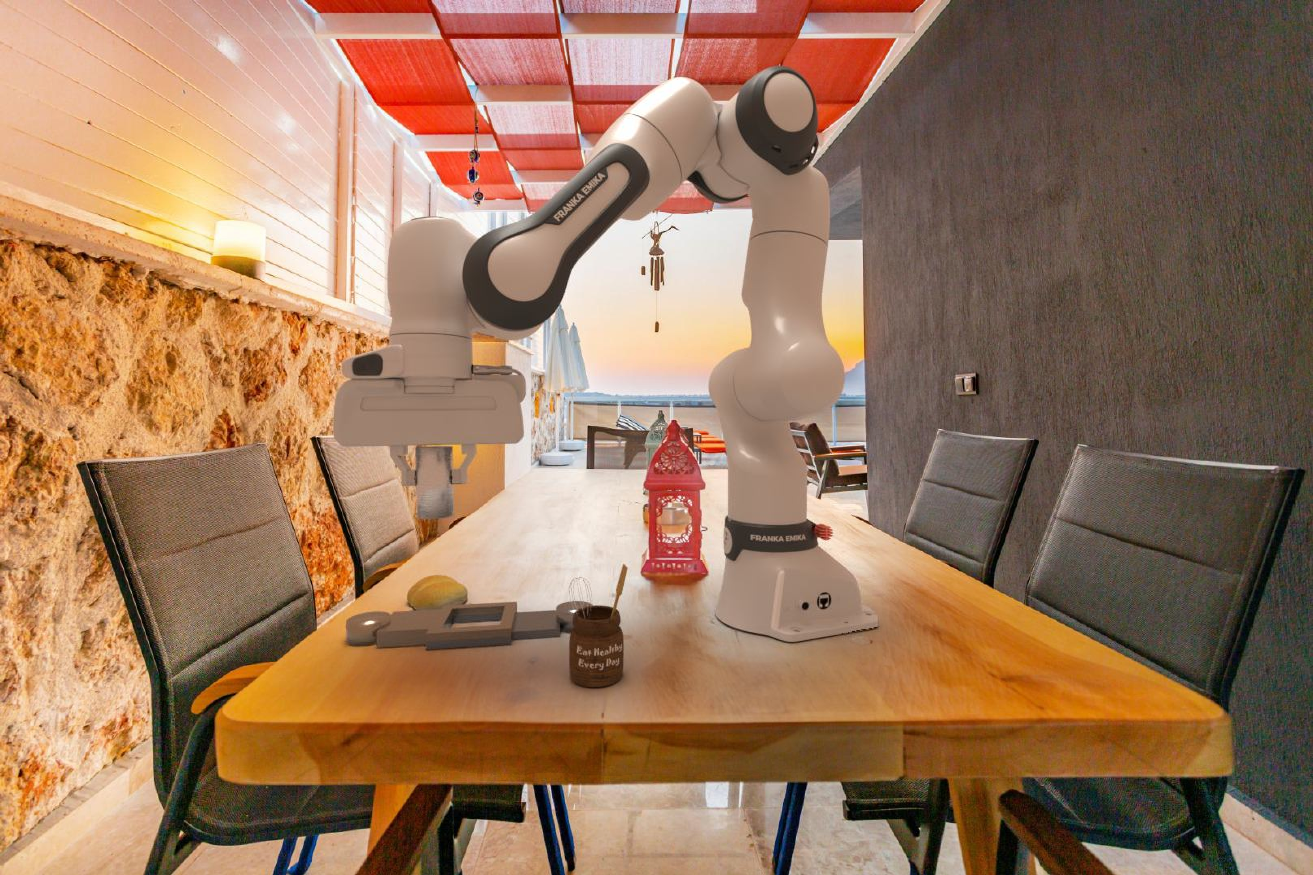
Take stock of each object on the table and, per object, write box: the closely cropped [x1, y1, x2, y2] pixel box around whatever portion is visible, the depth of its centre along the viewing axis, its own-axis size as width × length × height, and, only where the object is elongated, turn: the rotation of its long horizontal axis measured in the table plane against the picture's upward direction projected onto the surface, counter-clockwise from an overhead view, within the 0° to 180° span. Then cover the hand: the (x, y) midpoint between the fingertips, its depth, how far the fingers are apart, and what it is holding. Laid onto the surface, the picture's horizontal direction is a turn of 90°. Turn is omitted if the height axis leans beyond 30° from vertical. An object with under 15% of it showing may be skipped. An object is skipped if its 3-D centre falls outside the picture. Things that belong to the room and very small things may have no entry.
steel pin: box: [414, 445, 455, 520], centre depth 63 cm, size 4×4×8 cm
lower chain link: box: [425, 600, 594, 651], centre depth 72 cm, size 20×10×2 cm, turn 100°
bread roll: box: [406, 574, 469, 611], centre depth 82 cm, size 8×9×4 cm
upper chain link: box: [345, 601, 518, 649], centre depth 70 cm, size 20×10×2 cm, turn 100°
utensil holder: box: [568, 563, 628, 688], centre depth 59 cm, size 6×6×12 cm
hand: (435, 484), depth 63 cm, fingers closed on steel pin, 4 cm apart
